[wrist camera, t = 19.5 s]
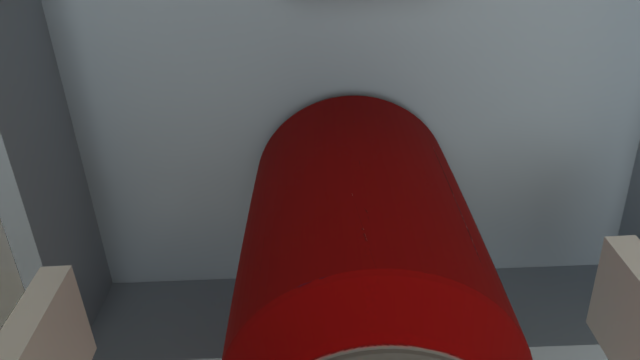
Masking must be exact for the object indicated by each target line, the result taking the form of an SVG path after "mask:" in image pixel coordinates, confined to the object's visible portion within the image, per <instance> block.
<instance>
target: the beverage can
mask: <svg viewBox="0 0 640 360" xmlns="http://www.w3.org/2000/svg"><path fill="white" fill-rule="evenodd" d="M222 360H533V359H532V355H531V351H530V349H529V346H528V344H527V341H526V339H525V336H524V334H523V332H522V329H521V327H520V325H519V322H518V320H517V318H516V315H515V313H514V311H513V308H512V306H511V304H510V301H509V299H508V297H507V294H506V292H505V289H504V287H503V285H502V282H501V280H500V278H499V275H498V273H497V271H496V268H495V266H494V264H493V261H492V259H491V257H490V255H489V252H488V250H487V248H486V246H485V243H484V241H483V239H482V237H481V234H480V232H479V230H478V228H477V225H476V223H475V221H474V219H473V216H472V214H471V212H470V210H469V208H468V205H467V203H466V201H465V199H464V197H463V195H462V192H461V190H460V188H459V186H458V184H457V181H456V179H455V177H454V175H453V173H452V171H451V169H450V167H449V165H448V162H447V160H446V158H445V156H444V154H443V152H442V150H441V148H440V146H439V144H438V142H437V140H436V138H435V137H434V135H433V134H432V132H431V131H430V130H429V129H428V127H427V126H426V125H425V124H424V123H423V122H422V121H421V120H420V119H419V118H417V117H416V116H415V115H414V114H412V113H411V112H409V111H408V110H406V109H404V108H402V107H401V106H398V105H396V104H394V103H392V102H389V101H386V100H383V99H379V98H374V97H368V96H340V97H334V98H329V99H325V100H322V101H319V102H316V103H314V104H312V105H309V106H307V107H305V108H303V109H302V110H300V111H298V112H297V113H295V114H294V115H292V116H291V117H290V118H289V119H287V120H286V121H285V122H284V123H283V124H282V125H281V126H280V127H279V128H278V129H277V130H276V131H275V133H274V134H273V135H272V137H271V138H270V140H269V141H268V143H267V145H266V147H265V149H264V151H263V153H262V156H261V159H260V162H259V166H258V171H257V175H256V180H255V184H254V189H253V194H252V198H251V203H250V208H249V213H248V218H247V223H246V228H245V233H244V238H243V243H242V248H241V254H240V259H239V265H238V270H237V275H236V281H235V286H234V292H233V297H232V303H231V308H230V314H229V320H228V326H227V332H226V337H225V343H224V349H223V355H222Z"/></svg>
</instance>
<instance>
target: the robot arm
mask: <svg viewBox="0 0 640 360" xmlns="http://www.w3.org/2000/svg"><path fill="white" fill-rule="evenodd" d="M586 323H587V325H588V327H589V328H590V330H591V332H592V333H593V335H594V336H595V338H596V340H597V341H598V343H599V345H600V346H601V348H602V350H603V351H604V353H605V355H606V356H607V358H608V360H640V239H639V238H638V237H637V236H636V235H625V236H606V237H604V241H603V246H602V250H601V255H600V259H599V264H598V268H597V273H596V277H595V282H594V287H593V291H592V296H591V300H590V305H589V309H588V314H587V318H586ZM96 349H97V347H96V344H95V341H94V337H93V334H92V331H91V327H90V324H89V321H88V318H87V314H86V311H85V308H84V305H83V301H82V298H81V295H80V292H79V288H78V285H77V282H76V278H75V275H74V272H73V269H72V265H65V266H47V267H40V268H39V270H38V271H37V273H36V274H35V276H34V278H33V279H32V281H31V282H30V284H29V286H28V287H27V289H26V290H25V292H24V293H23V295H22V297H21V298H20V300H19V301H18V303H17V304H16V306H15V308H14V309H13V311H12V312H11V314H10V316H9V317H8V319H7V320H6V322H5V323H4V325H3V327H2V328H1V330H0V360H92V359H93V356H94V354H95V351H96Z"/></svg>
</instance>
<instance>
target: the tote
mask: <svg viewBox="0 0 640 360" xmlns="http://www.w3.org/2000/svg"><path fill="white" fill-rule="evenodd" d="M340 96H368V97H374V98H379V99H383V100H386V101H389V102H392V103H394V104H396V105H398V106H401V107H402V108H404V109H406V110H408V111H409V112H411V113H412V114H414V115H415V116H416V117H417V118H419V119H420V120H421V121H422V122H423V123H424V124H425V125H426V126H427V127H428V129H429V130H430V131H431V132H432V134H433V135H434V137H435V138H436V140H437V142H438V144H439V146H440V148H441V150H442V152H443V154H444V156H445V158H446V160H447V162H448V165H449V167H450V169H451V171H452V173H453V175H454V177H455V179H456V181H457V184H458V186H459V188H460V190H461V192H462V195H463V197H464V199H465V201H466V203H467V205H468V208H469V210H470V212H471V214H472V216H473V219H474V221H475V223H476V225H477V228H478V230H479V232H480V234H481V237H482V239H483V241H484V243H485V246H486V248H487V250H488V252H489V255H490V257H491V259H492V261H493V264H494V266H495V268H496V271H497V273H498V275H499V278H500V280H501V282H502V285H503V287H504V289H505V292H506V294H507V297H508V299H509V301H510V304H511V306H512V308H513V311H514V313H515V315H516V318H517V320H518V322H519V325H520V327H521V329H522V332H523V334H524V336H525V339H526V341H527V344H528V346H529V349H530V351H531V355H532V359H533V360H608V358H607V356H606V355H605V353H604V351H603V350H602V348H601V346H600V345H599V343H598V341H597V340H596V338H595V336H594V335H593V333H592V332H591V330H590V328H589V327H588V325H587V323H586V318H587V314H588V309H589V305H590V300H591V296H592V291H593V287H594V282H595V277H596V273H597V268H598V264H599V259H600V255H601V250H602V246H603V241H604V237H606V236H625V235H636V236H637V237H638V238H639V239H640V0H0V219H1V222H2V225H3V228H4V231H5V234H6V237H7V240H8V243H9V246H10V249H11V251H12V254H13V257H14V260H15V263H16V266H17V269H18V272H19V275H20V278H21V281H22V284H23V287H24V290H26V289H27V287H28V286H29V284H30V282H31V281H32V279H33V278H34V276H35V274H36V273H37V271H38V270H39V268H40V267H47V266H65V265H72V269H73V272H74V275H75V278H76V282H77V285H78V288H79V292H80V295H81V298H82V301H83V305H84V308H85V311H86V314H87V318H88V321H89V324H90V327H91V331H92V334H93V337H94V341H95V344H96V347H97V349H96V351H95V354H94V356H93V359H92V360H222V355H223V349H224V343H225V337H226V332H227V326H228V320H229V314H230V308H231V303H232V297H233V292H234V286H235V281H236V275H237V270H238V265H239V259H240V254H241V248H242V243H243V238H244V233H245V228H246V223H247V218H248V213H249V208H250V203H251V198H252V194H253V189H254V184H255V180H256V175H257V171H258V166H259V162H260V159H261V156H262V153H263V151H264V149H265V147H266V145H267V143H268V141H269V140H270V138H271V137H272V135H273V134H274V133H275V131H276V130H277V129H278V128H279V127H280V126H281V125H282V124H283V123H284V122H285V121H286V120H287V119H289V118H290V117H291V116H292V115H294V114H295V113H297V112H298V111H300V110H302V109H303V108H305V107H307V106H309V105H312V104H314V103H316V102H319V101H322V100H325V99H329V98H334V97H340Z"/></svg>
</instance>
